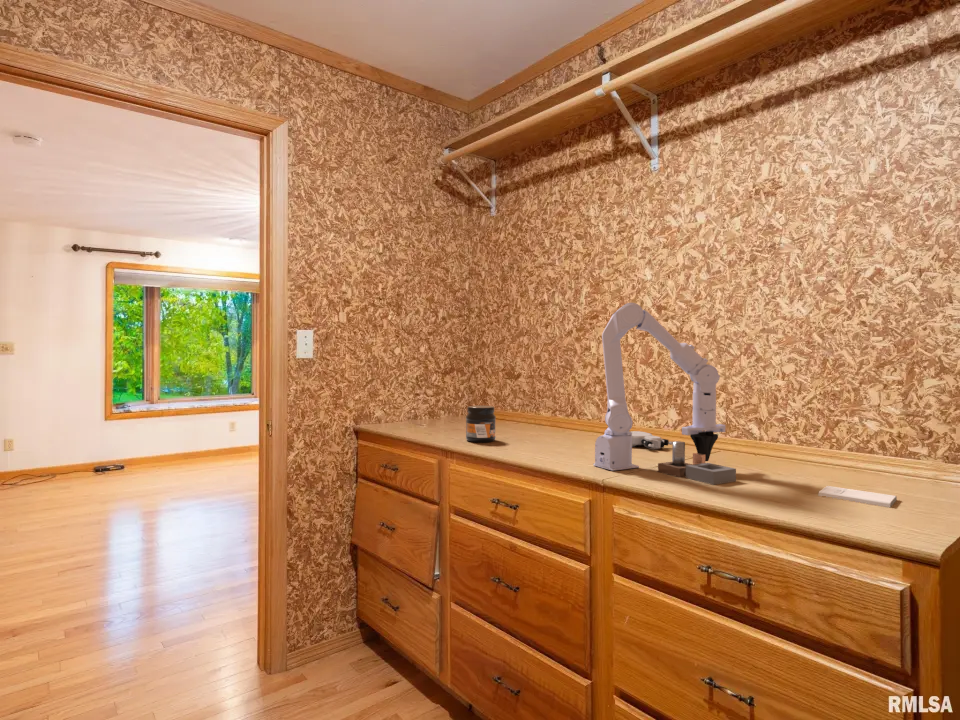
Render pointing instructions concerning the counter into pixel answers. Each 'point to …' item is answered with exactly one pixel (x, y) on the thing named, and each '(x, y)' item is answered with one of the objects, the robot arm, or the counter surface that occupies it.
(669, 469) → the socket block
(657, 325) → the robot arm
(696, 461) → the pin
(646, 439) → the robot toy
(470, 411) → the supplement container
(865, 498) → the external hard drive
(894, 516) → the counter surface
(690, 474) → the block
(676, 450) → the rounded metal peg
